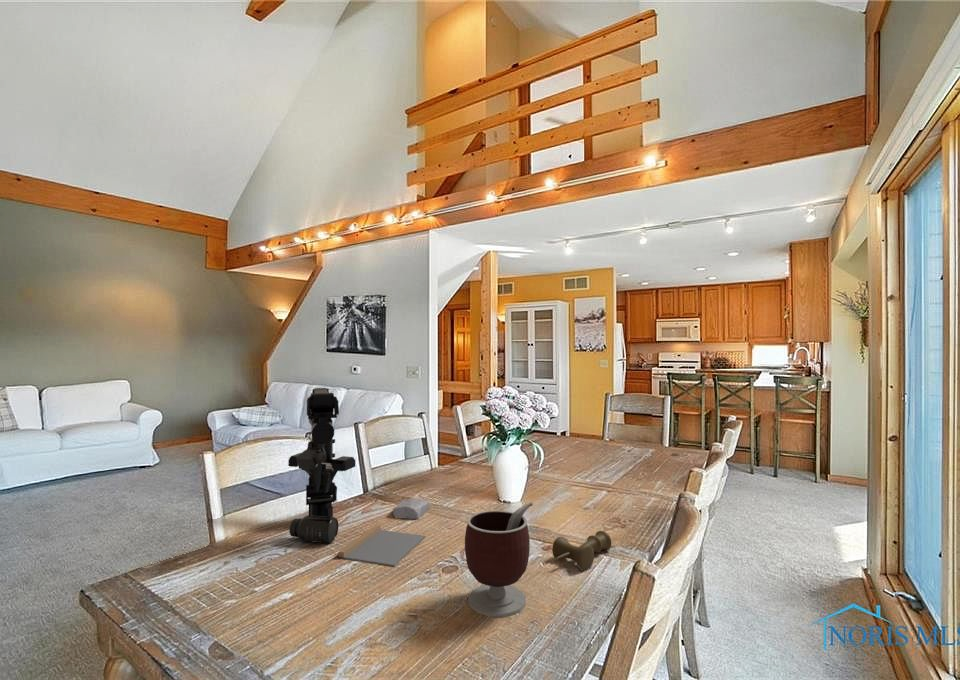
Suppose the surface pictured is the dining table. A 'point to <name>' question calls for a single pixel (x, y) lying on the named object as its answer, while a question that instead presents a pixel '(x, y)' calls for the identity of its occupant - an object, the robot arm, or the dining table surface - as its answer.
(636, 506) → the dining table surface
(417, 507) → the stone block
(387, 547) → the mat
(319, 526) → the supplement bottle
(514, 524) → the mate gourd
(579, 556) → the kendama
